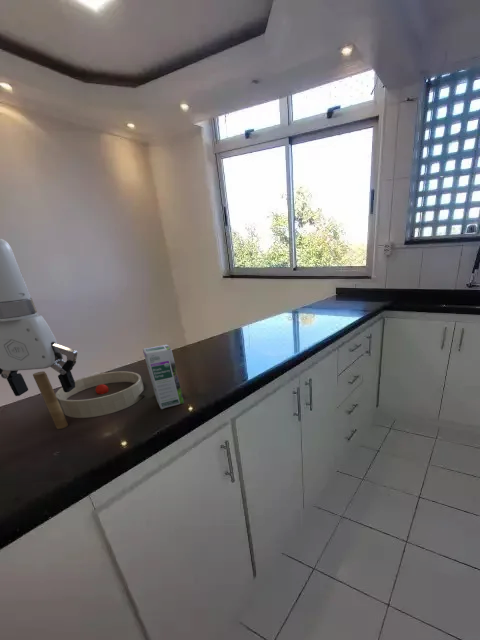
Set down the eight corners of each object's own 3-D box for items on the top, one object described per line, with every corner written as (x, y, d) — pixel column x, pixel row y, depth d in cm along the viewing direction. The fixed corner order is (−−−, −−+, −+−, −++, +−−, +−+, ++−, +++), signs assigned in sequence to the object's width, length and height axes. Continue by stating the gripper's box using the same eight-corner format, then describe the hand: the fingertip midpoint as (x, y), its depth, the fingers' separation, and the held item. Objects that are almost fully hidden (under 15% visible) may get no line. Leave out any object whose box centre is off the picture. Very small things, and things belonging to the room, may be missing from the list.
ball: (94, 396, 83) (91, 385, 82) (105, 393, 86) (102, 382, 85) (101, 397, 82) (98, 386, 81) (112, 394, 84) (109, 383, 84)
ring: (45, 421, 73) (37, 404, 71) (85, 388, 90) (80, 374, 88) (129, 414, 75) (124, 397, 73) (154, 383, 92) (150, 369, 90)
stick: (54, 429, 69) (29, 375, 64) (60, 424, 71) (36, 371, 66) (64, 428, 69) (41, 374, 64) (70, 423, 71) (47, 370, 66)
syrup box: (160, 410, 76) (145, 353, 69) (156, 401, 80) (141, 347, 74) (184, 403, 79) (171, 348, 72) (179, 395, 83) (166, 343, 77)
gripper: (-57, 316, 55) (-11, 402, 62) (47, 311, 56) (79, 395, 64) (-23, 309, 62) (15, 387, 69) (69, 304, 63) (96, 381, 71)
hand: (46, 391), depth 67 cm, fingers open, 9 cm apart
